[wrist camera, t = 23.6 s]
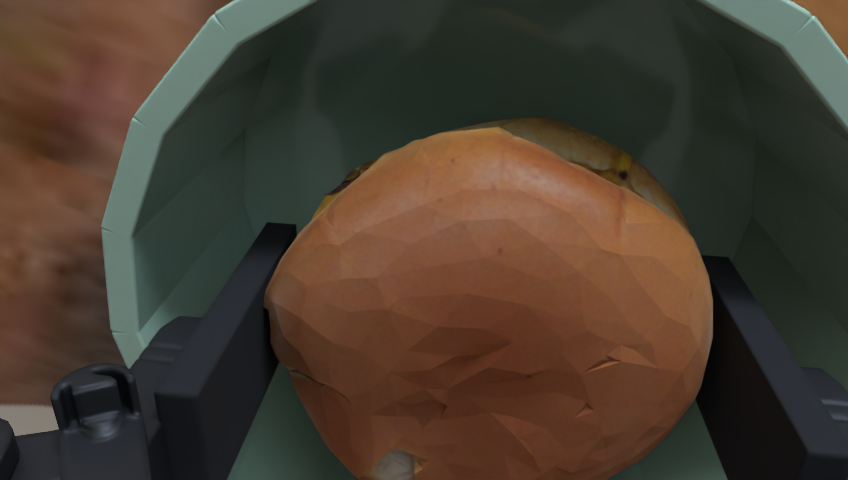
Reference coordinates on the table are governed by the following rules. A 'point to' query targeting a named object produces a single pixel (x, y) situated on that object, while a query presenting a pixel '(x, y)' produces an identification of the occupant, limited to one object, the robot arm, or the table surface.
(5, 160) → the table surface
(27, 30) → the table surface
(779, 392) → the robot arm
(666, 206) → the burger
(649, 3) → the pot
